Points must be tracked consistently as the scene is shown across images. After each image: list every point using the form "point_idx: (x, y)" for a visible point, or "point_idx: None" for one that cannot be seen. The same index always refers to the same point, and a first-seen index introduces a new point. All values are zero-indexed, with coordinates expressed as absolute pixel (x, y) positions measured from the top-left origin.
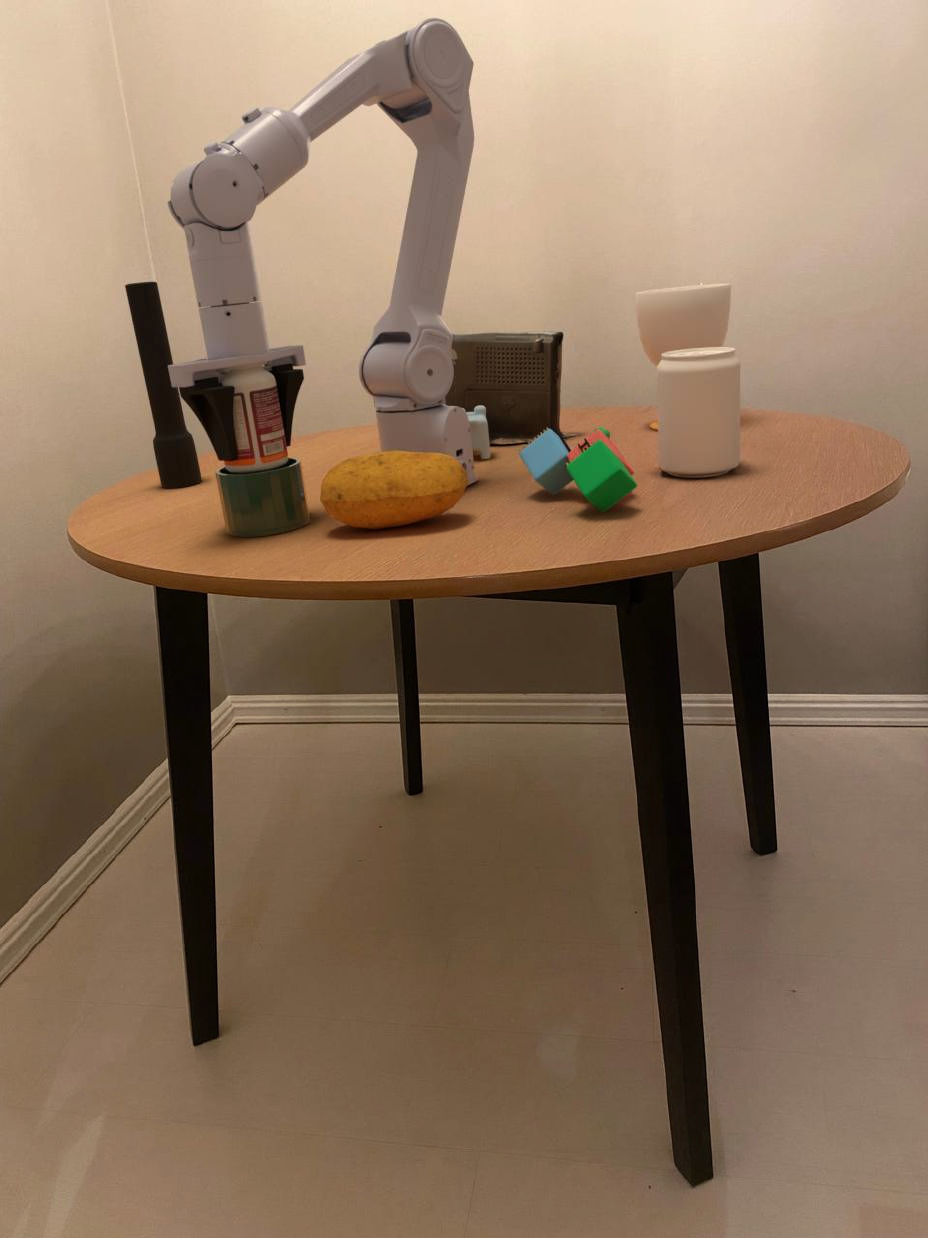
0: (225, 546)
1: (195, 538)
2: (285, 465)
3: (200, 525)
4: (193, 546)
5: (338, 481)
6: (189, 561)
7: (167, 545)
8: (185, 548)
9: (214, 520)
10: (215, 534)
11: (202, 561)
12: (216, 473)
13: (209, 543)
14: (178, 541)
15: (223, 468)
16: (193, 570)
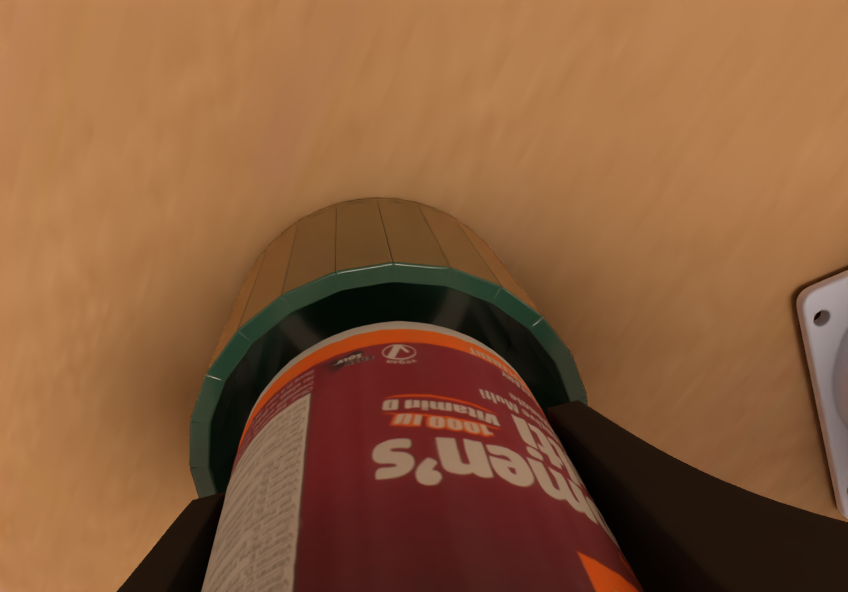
0: (172, 443)
1: (128, 259)
2: (554, 377)
3: (211, 74)
4: (89, 355)
5: None
6: (29, 502)
7: (14, 259)
8: (59, 356)
9: (286, 47)
10: (203, 273)
11: (62, 530)
12: (190, 431)
13: (145, 367)
14: (64, 242)
15: (273, 325)
16: (15, 586)
